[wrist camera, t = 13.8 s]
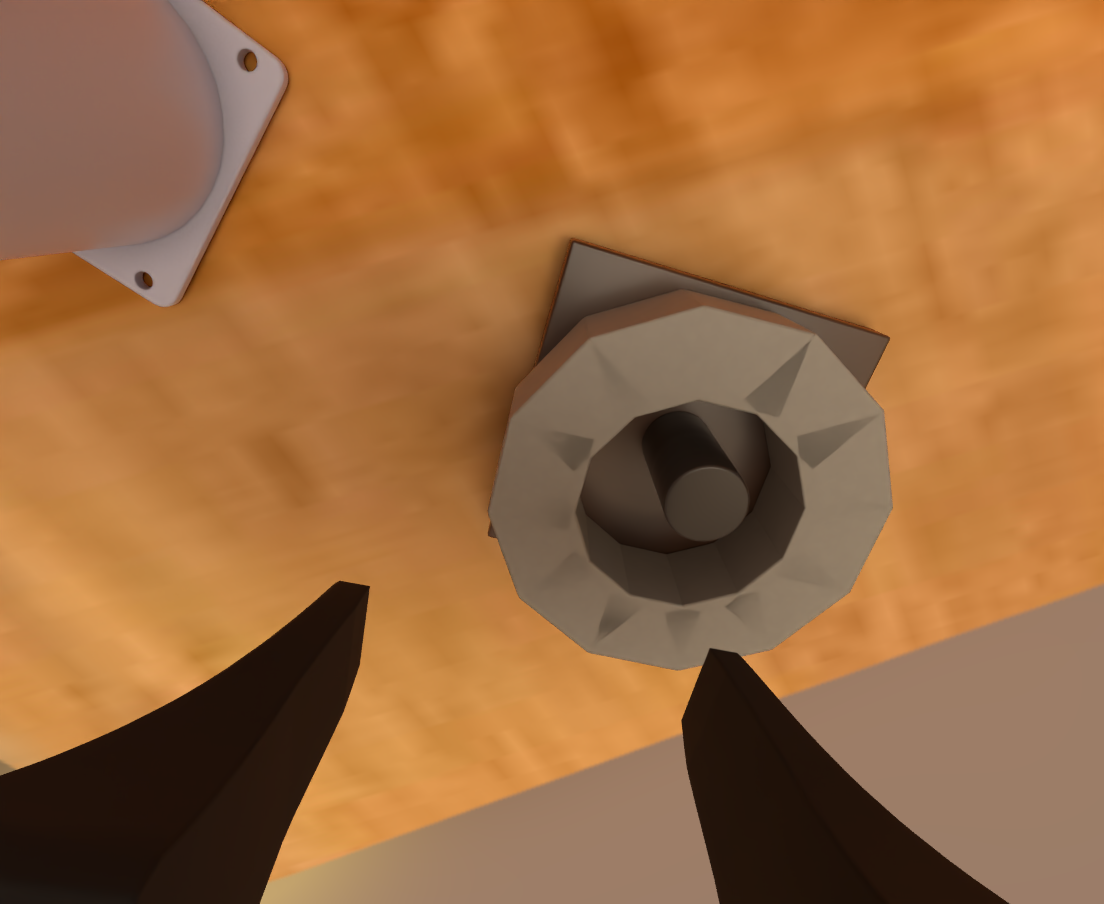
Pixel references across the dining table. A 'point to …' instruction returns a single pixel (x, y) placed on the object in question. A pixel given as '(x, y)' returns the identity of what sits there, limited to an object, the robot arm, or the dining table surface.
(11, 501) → the dining table surface
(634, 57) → the dining table surface
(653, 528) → the stand
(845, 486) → the tape roll
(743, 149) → the dining table surface
